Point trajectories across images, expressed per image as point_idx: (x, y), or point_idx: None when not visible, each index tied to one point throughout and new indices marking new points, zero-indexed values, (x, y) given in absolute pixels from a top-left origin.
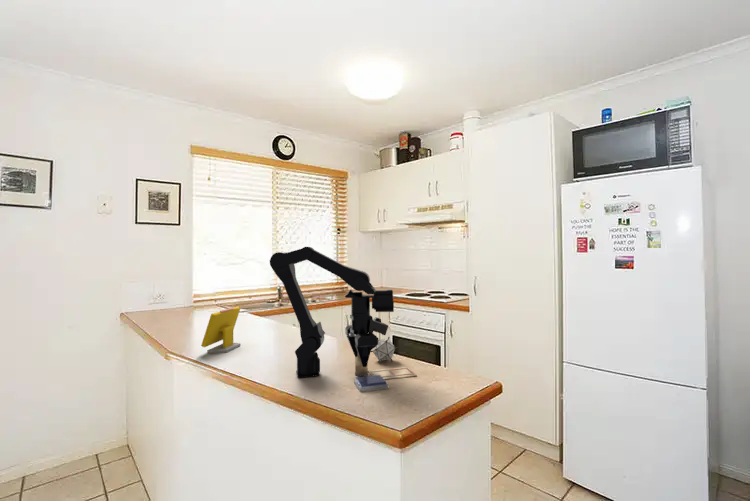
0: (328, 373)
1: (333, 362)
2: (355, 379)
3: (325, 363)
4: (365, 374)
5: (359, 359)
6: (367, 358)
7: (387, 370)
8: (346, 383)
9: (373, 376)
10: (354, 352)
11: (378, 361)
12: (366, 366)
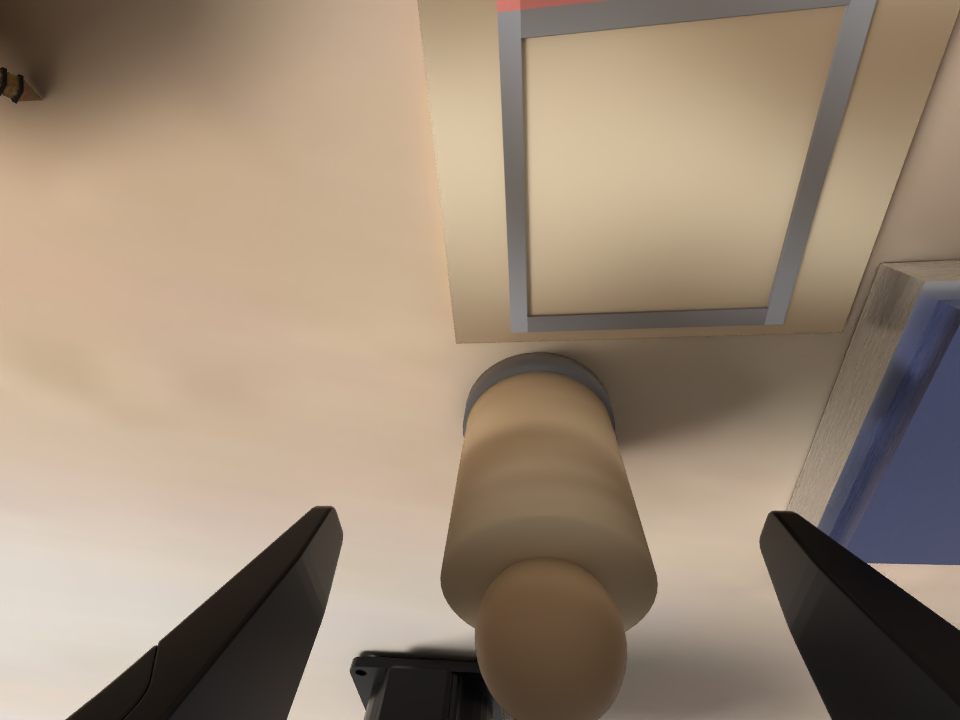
0: (436, 611)
1: (130, 546)
2: None
3: (169, 591)
4: (607, 399)
5: (635, 620)
6: (957, 654)
7: (523, 46)
8: (742, 560)
9: (958, 407)
10: (308, 646)
11: (13, 93)
12: (792, 511)
